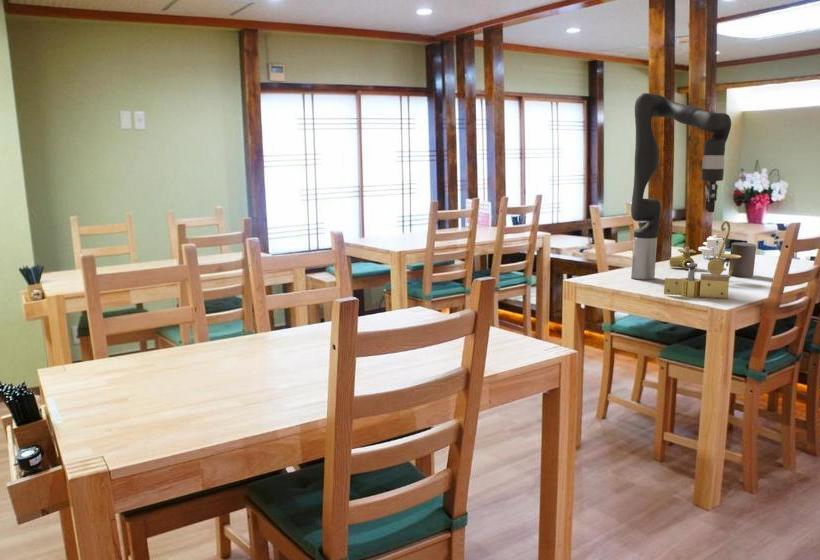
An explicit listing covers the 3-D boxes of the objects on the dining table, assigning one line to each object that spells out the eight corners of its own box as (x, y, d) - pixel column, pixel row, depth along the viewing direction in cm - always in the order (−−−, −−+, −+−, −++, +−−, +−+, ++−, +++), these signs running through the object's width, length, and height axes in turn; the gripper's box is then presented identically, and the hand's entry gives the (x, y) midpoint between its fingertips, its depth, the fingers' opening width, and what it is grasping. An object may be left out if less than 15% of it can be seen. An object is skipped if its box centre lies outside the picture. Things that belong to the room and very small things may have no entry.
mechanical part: (704, 256, 341) (706, 233, 338) (728, 259, 332) (730, 235, 329) (693, 258, 334) (695, 234, 331) (717, 261, 324) (719, 237, 322)
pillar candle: (724, 275, 288) (728, 240, 285) (733, 272, 294) (736, 238, 292) (748, 278, 281) (752, 243, 278) (756, 275, 288) (760, 240, 285)
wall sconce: (725, 285, 266) (730, 222, 261) (702, 282, 273) (707, 220, 269) (743, 281, 274) (749, 220, 269) (721, 278, 281) (726, 218, 277)
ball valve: (696, 271, 300) (698, 248, 298) (672, 270, 302) (673, 248, 300) (690, 266, 312) (692, 245, 310) (667, 265, 314) (668, 244, 312)
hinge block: (663, 295, 248) (665, 274, 246) (663, 292, 254) (664, 271, 253) (727, 299, 241) (729, 277, 240) (725, 295, 248) (727, 274, 246)
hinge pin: (695, 297, 246) (698, 264, 243) (684, 296, 247) (687, 264, 245) (694, 295, 249) (697, 263, 247) (683, 294, 250) (686, 262, 248)
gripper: (726, 168, 243) (722, 213, 246) (721, 167, 256) (718, 209, 259) (703, 168, 245) (700, 212, 248) (700, 167, 259) (697, 209, 262)
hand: (709, 211), depth 254 cm, fingers open, 8 cm apart
